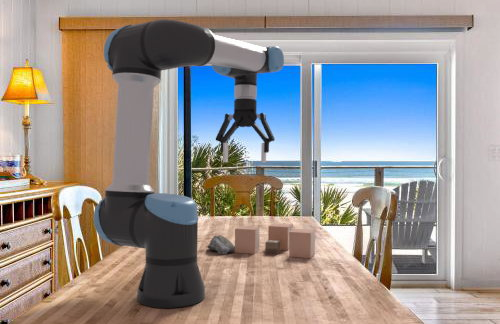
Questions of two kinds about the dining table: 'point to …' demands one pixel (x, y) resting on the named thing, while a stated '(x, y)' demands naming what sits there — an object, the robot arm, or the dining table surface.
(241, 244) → the peach colored cube
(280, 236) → the cover mid
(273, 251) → the letter cube
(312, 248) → the salmon pink box
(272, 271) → the dining table surface
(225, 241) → the fossilized seashell
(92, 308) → the dining table surface
